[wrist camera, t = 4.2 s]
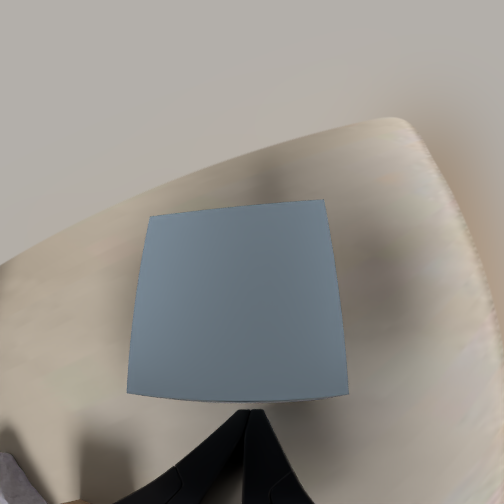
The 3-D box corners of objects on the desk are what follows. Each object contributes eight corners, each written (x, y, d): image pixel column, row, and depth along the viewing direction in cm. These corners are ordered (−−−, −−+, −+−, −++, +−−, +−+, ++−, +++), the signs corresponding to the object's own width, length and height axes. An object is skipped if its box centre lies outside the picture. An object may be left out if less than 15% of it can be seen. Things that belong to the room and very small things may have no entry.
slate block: (314, 400, 15) (348, 394, 5) (226, 402, 16) (126, 392, 6) (309, 317, 17) (324, 199, 8) (227, 322, 18) (150, 216, 8)
